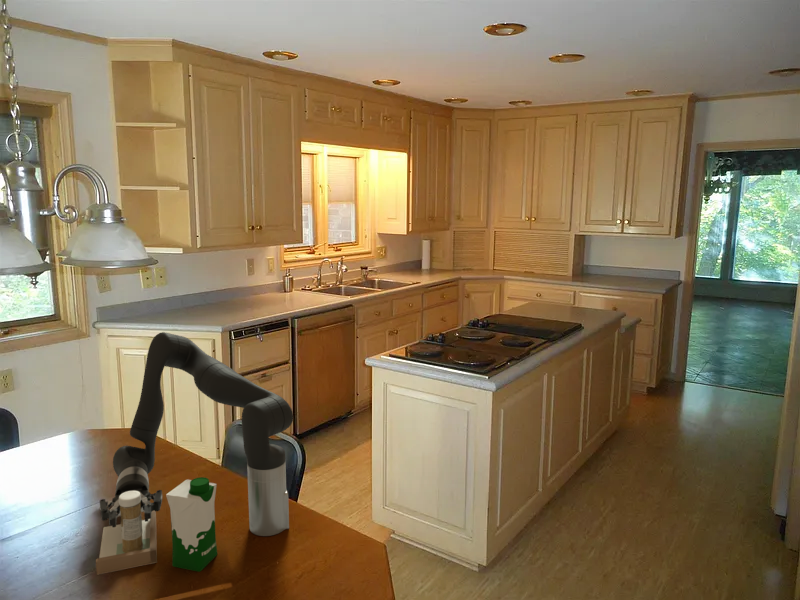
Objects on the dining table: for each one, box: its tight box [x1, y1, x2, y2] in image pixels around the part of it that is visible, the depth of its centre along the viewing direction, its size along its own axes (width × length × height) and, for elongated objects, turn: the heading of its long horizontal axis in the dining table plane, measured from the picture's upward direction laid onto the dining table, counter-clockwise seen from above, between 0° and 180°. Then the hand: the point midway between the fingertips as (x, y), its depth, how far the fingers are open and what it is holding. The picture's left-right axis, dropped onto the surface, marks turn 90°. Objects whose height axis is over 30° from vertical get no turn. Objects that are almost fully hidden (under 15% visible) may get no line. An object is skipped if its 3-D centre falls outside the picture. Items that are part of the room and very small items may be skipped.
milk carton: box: [165, 476, 218, 573], centre depth 133 cm, size 9×9×20 cm
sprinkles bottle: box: [119, 491, 143, 553], centre depth 136 cm, size 5×5×14 cm
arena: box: [95, 511, 158, 575], centre depth 140 cm, size 12×20×4 cm, turn 22°
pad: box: [116, 538, 150, 555], centre depth 137 cm, size 7×7×1 cm
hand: (130, 520), depth 134 cm, fingers open, 6 cm apart
